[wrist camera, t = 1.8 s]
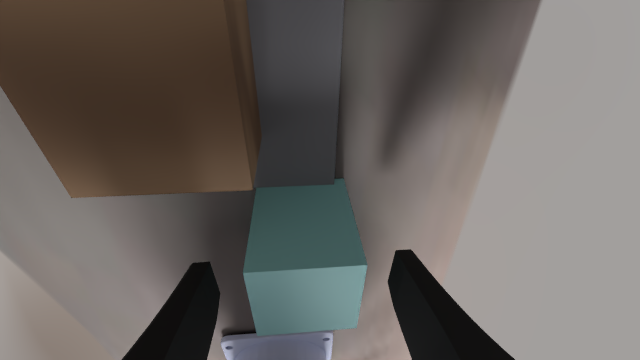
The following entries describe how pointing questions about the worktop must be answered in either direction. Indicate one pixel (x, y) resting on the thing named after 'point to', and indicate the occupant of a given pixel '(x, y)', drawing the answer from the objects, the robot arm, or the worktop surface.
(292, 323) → the teal block
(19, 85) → the walnut block
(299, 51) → the mat
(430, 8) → the worktop surface
